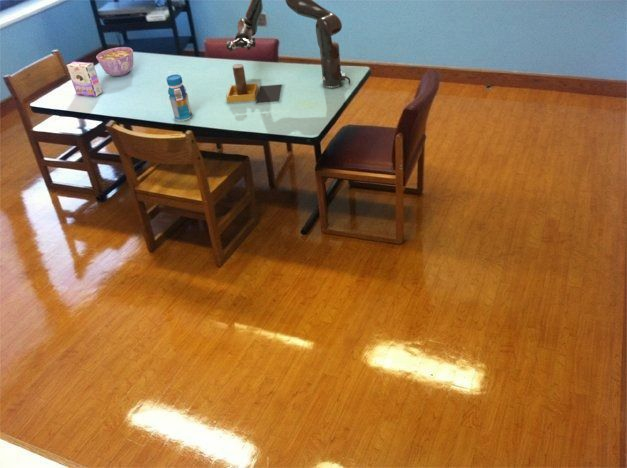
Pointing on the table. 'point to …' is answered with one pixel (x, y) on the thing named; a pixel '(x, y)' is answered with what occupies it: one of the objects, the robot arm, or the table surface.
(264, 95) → the mat
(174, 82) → the beverage bottle
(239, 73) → the brown cylinder
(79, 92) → the candy box
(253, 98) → the bin
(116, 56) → the bowl of food
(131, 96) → the table surface
